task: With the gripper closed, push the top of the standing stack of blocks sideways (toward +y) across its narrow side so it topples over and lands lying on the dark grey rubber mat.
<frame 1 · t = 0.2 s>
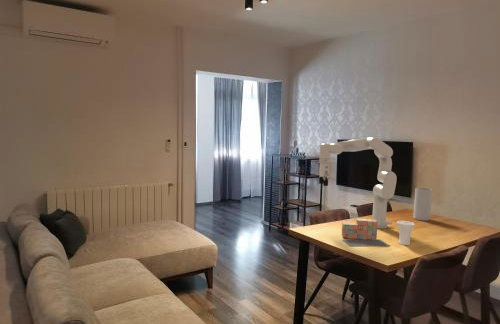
hand: (323, 184, 263), 31 cm above the table, fingers open, 9 cm apart
stack of blocks: (358, 238, 241), on the table, touching rubber mat
cylinder vase: (421, 219, 302), on the table
cup: (404, 243, 233), on the table
rubber mat: (365, 242, 232), on the table
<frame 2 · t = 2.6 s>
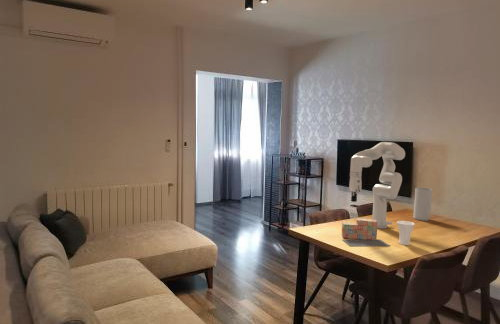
hand: (353, 201, 249), 22 cm above the table, fingers closed
nothing on the table moved.
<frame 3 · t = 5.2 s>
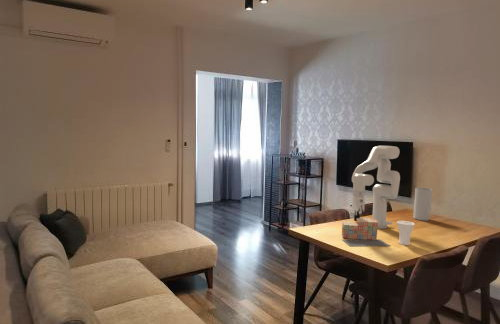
hand: (356, 220, 244), 11 cm above the table, fingers closed
stack of blocks: (358, 237, 241), on the table, touching rubber mat
everything else where it was.
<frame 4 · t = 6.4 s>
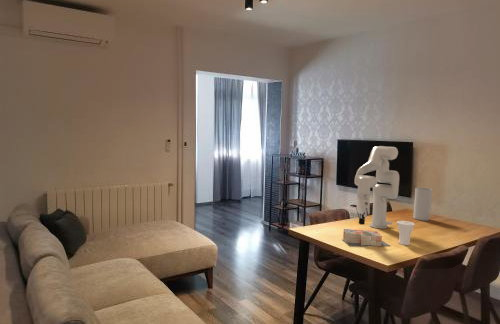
hand: (361, 224, 237), 10 cm above the table, fingers closed
stack of blocks: (359, 234, 238), point 3 cm above the table, touching rubber mat
everything else where it was.
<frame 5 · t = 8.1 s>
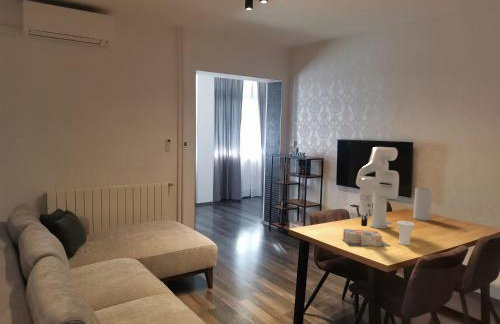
hand: (364, 225, 234), 10 cm above the table, fingers closed
nothing on the table moved.
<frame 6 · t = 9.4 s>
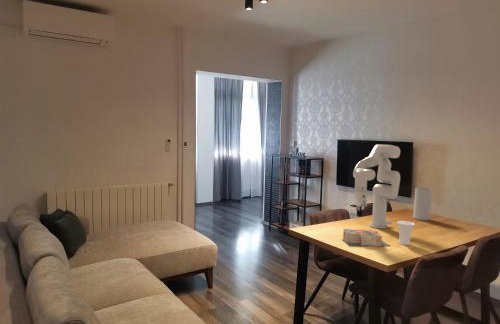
hand: (359, 216, 244), 14 cm above the table, fingers closed
nothing on the table moved.
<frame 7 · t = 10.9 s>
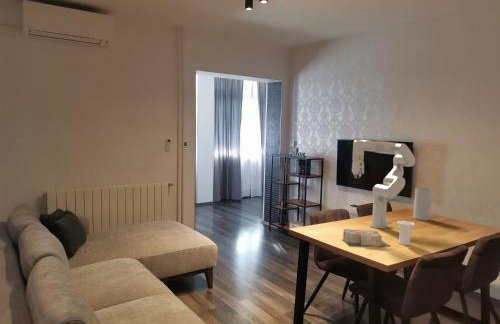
hand: (356, 183, 261), 33 cm above the table, fingers closed
nothing on the table moved.
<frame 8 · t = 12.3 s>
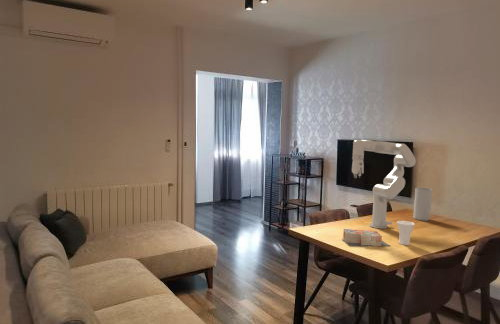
hand: (356, 183, 261), 33 cm above the table, fingers closed
nothing on the table moved.
at the end: stack of blocks tilted 90°; stack of blocks inside the target area (6.2 cm from its centre), point 3.3 cm above the table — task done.
